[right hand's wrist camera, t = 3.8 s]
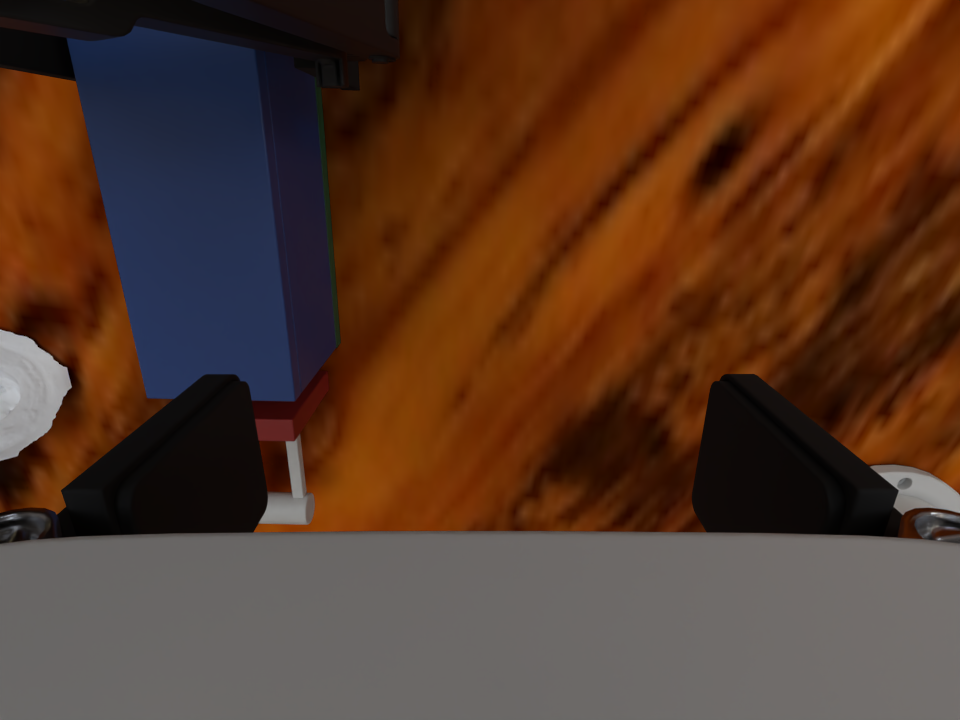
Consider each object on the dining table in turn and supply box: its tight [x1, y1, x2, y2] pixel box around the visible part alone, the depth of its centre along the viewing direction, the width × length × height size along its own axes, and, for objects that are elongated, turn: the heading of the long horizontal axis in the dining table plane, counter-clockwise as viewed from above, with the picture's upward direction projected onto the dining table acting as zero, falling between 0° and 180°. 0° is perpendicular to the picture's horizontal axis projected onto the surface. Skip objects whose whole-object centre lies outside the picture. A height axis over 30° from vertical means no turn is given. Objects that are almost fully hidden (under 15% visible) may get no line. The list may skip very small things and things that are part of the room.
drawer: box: [252, 371, 329, 524], centre depth 27 cm, size 22×6×6 cm, turn 179°
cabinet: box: [67, 26, 341, 401], centre depth 25 cm, size 18×7×8 cm, turn 179°
